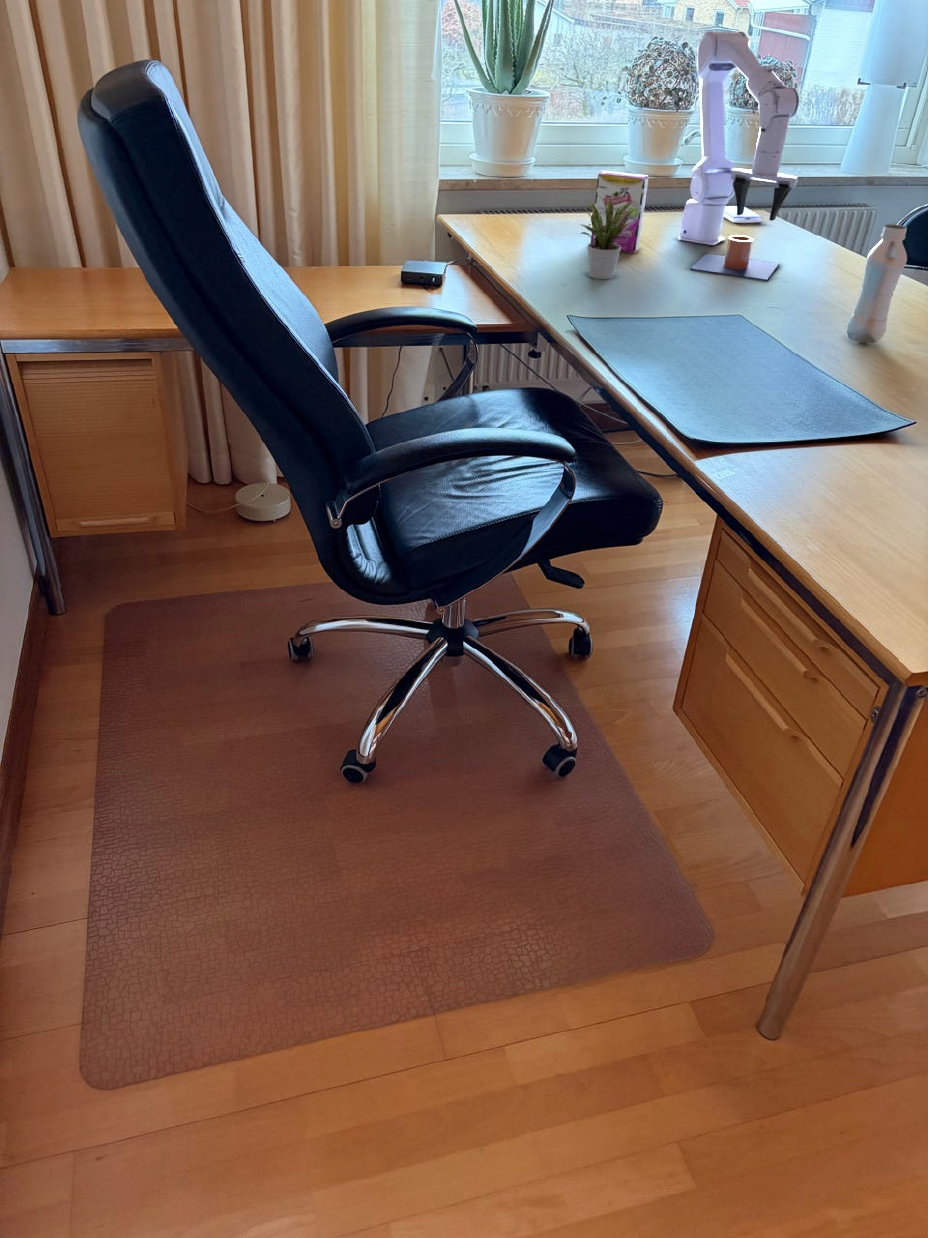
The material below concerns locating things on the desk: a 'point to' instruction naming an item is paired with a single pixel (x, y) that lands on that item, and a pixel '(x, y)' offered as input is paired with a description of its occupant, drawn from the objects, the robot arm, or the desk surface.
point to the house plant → (605, 240)
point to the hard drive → (744, 218)
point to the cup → (738, 252)
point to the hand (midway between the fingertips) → (755, 216)
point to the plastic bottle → (878, 286)
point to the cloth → (753, 271)
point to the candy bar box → (620, 193)
